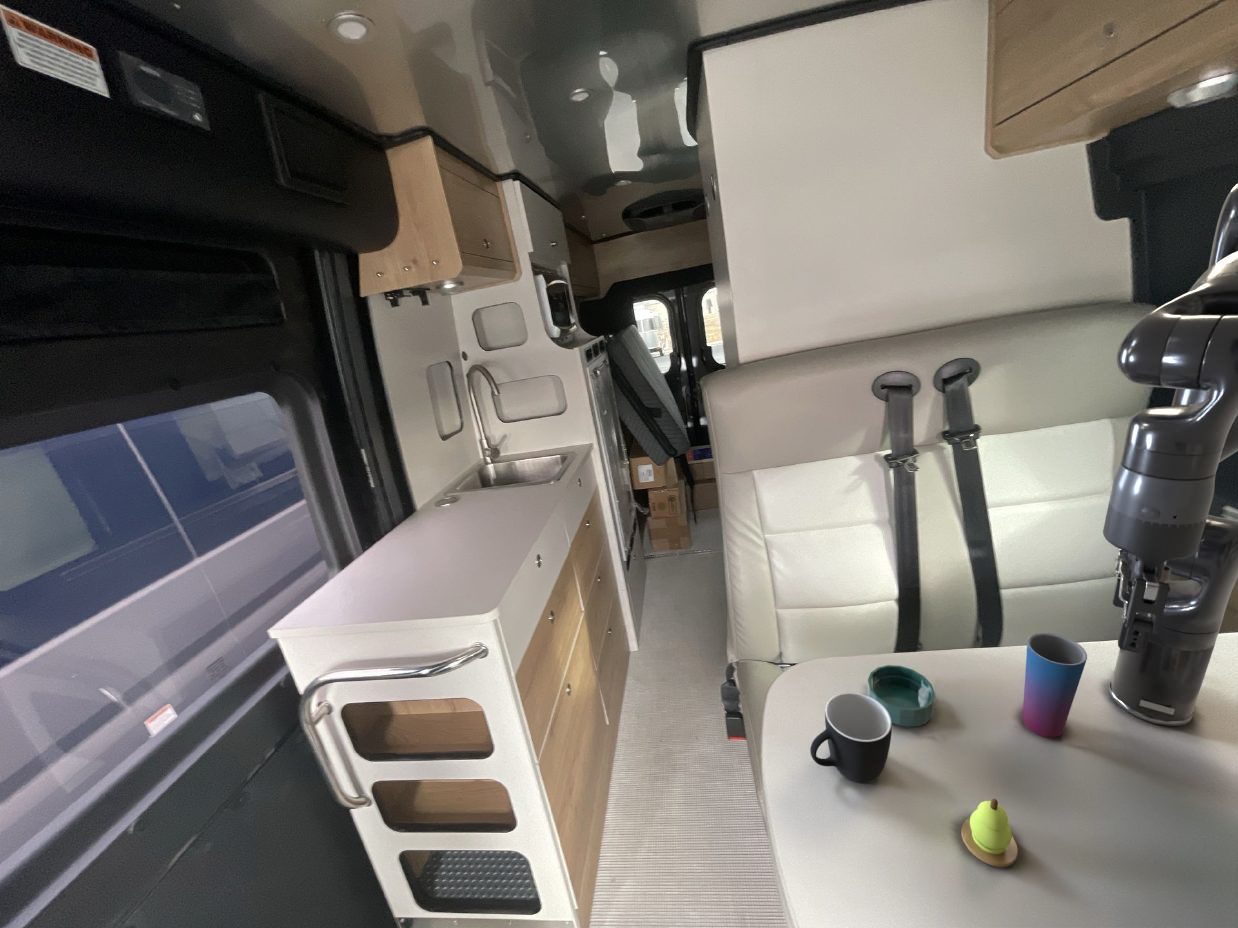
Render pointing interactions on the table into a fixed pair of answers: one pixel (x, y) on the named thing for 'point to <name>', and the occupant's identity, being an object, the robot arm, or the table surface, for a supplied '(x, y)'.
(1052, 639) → the cup
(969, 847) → the coaster
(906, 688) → the bowl
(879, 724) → the mug
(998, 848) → the pear
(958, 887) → the table surface
